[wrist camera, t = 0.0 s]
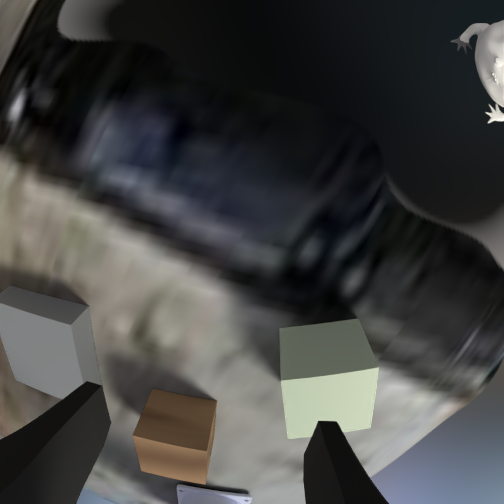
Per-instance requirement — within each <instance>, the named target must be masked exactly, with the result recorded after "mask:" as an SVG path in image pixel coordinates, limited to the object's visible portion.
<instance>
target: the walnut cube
mask: <svg viewBox="0 0 504 504" xmlns="http://www.w3.org/2000/svg"><path fill="white" fill-rule="evenodd" d="M216 405H217V401H215V400H209V399H203V398H197V397H191V396H186V395H181V394H176V393H171V392H166V391H161V390H156V389H152V391H151V393H150V396H149V398H148V400H147V403H146V405H145V407H144V410H143V412H142V414H141V417H140V419H139V421H138V424H137V426H136V429H135V431H134V433H133V439H134V443H135V448H136V452H137V456H138V460H139V464H140V468H141V471H144V472H147V473H151V474H155V475H160V476H164V477H168V478H173V479H178V480H183V481H188V482H193V483H199V484H206V478H207V473H208V467H209V462H210V456H211V451H212V446H213V440H214V430H215V417H216Z"/></svg>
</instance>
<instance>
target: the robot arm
mask: <svg viewBox="0 0 504 504" xmlns="http://www.w3.org/2000/svg"><path fill="white" fill-rule="evenodd" d="M110 425H111V420H110V416H109V413H108V409H107V404H106V400H105V396H104V392H103V387H102V385H99V384H96V383H92V382H89V381H86V382H85V383H83V384H82V385H81V386H79V387H78V388H77V389H75V390H74V391H73V392H71V393H70V394H69V395H68V396H66V397H65V398H64V399H62V400H61V401H60V402H58V403H57V404H56V405H54V406H53V407H52V408H50V409H49V410H48V411H46V412H45V413H43V414H42V415H41V416H39V417H38V418H36V419H35V420H33V421H32V422H30V423H29V424H27V425H25V426H24V427H22V428H21V429H19V430H17V431H16V432H14V433H12V434H10V435H8V436H7V437H5V438H3V439H1V440H0V504H76V502H77V500H78V498H79V495H80V493H81V490H82V488H83V486H84V484H85V482H86V480H87V478H88V476H89V474H90V472H91V470H92V468H93V466H94V464H95V462H96V460H97V458H98V456H99V454H100V452H101V450H102V448H103V445H104V443H105V440H106V437H107V434H108V431H109V428H110ZM303 480H304V490H305V500H306V504H389V503H388V502H387V501H386V500H385V498H384V497H383V496H382V495H381V493H380V492H379V490H378V489H377V487H376V486H375V485H374V483H373V482H372V480H371V479H370V478H369V476H368V474H367V473H366V471H365V470H364V468H363V467H362V465H361V463H360V462H359V460H358V459H357V457H356V455H355V454H354V452H353V450H352V448H351V446H350V445H349V443H348V441H347V439H346V437H345V435H344V434H343V432H342V430H341V428H340V426H339V424H338V423H337V421H318V423H317V425H316V428H315V430H314V432H313V435H312V437H311V440H310V442H309V444H308V447H307V449H306V451H305V453H304V479H303ZM177 496H178V503H179V504H250V503H251V500H252V496H251V495H248V494H239V493H231V492H223V491H216V490H209V489H203V488H197V487H192V486H186V485H181V484H179V485H177Z"/></svg>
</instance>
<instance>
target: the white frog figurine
mask: <svg viewBox="0 0 504 504" xmlns="http://www.w3.org/2000/svg"><path fill="white" fill-rule="evenodd" d="M474 34H477V36H478V39H477V42H476V51H475V62H476V67H477V71H478V75H479V77H480V80H481V82H482V84H483V86H484V88H485V89H486V91H487V92H488V94H489V95H490V96H491V98H492V99H493V100H494V101H495V102H496V111H495V110H494V109H493V108H492V107H491V105H489V106H490V108H491V110H492V113H489V112H486V114H488V115H489V116H490V117H491V118H490V120H489V121H488V123H490V122H492V121H504V114H503V113H502V112H501V111H500V110H499V108H498V105H497V103H498V104H499V105H501V106H502V107H504V20H503V21H500V22H497V23H493V24H492V25H489V24H486V23H475V24H472V25H471V26H469V27H468V28H467V30H466V31H465V32H464V33H463V34H461V35H460V36H459V38H458V39H455V40H452V41H451V42H454V43H457V44H458V48H457V50H459V49H460V47H461V46H463V48H464V50H465V53H466V54H467V51H466V45H467V46H468V47H469V48H470V49H471V50H472V47H471V45H470V43H469V39H470V37H471V36H472V35H474Z"/></svg>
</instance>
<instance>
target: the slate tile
mask: <svg viewBox="0 0 504 504" xmlns="http://www.w3.org/2000/svg"><path fill="white" fill-rule="evenodd" d="M0 336H1V339H2V342H3V345H4V348H5V351H6V354H7V357H8V360H9V363H10V366H11V369H12V371H13V374H14V377H15V379H16V380H17V381H19V382H21V383H24V384H26V385H28V386H30V387H33V388H35V389H37V390H40V391H42V392H45V393H47V394H50V395H52V396H55V397H57V398H60V399H64V398H65V397H66V396H68V395H69V394H70V393H71V392H73V391H74V390H75V389H77V388H78V387H79V386H81V385H82V384H83V383H85V382H86V381H89V382H92V383H96V384H99V385H102V381H101V376H100V371H99V366H98V361H97V355H96V349H95V343H94V337H93V331H92V324H91V317H90V309H89V306H87V305H83V304H79V303H75V302H71V301H67V300H63V299H59V298H55V297H51V296H47V295H43V294H39V293H36V292H32V291H28V290H25V289H21V288H18V287H14V286H11V285H10V286H9V287H8V288H6V289H5V290H3V291H2V292H1V293H0ZM102 387H103V385H102Z"/></svg>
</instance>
